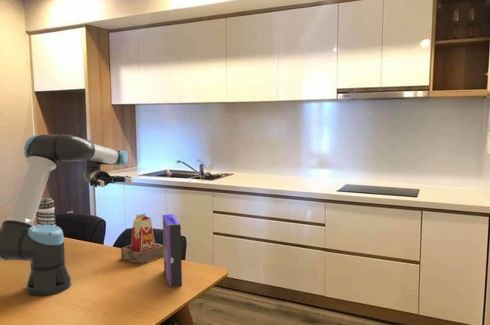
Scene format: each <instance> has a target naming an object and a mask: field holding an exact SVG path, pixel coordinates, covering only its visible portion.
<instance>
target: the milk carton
mask: <svg viewBox="0 0 490 325" xmlns="http://www.w3.org/2000/svg"><path fill="white" fill-rule="evenodd" d="M135 215H136V217H135V218H134V220H133V222H132V230H131V243H130V245H131V250H133V251H137V252H141V253H142V252H145V251H148V250H151V249H153V248H156V245H155V243H156V242H155V237H154V236H155V235H154V229H153V225H152V218H151V217H148V216H147V214H146V212H145V213H141V214H135Z"/></svg>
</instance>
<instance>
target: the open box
mask: <svg viewBox="0 0 490 325" xmlns="http://www.w3.org/2000/svg"><path fill="white" fill-rule="evenodd" d="M155 245H156V248H153V249H151V250H148V251H145V252H142V253H141V252H137V251H133V250H131V244H129V245H126V246H123V247H121V248H120V254H121V255H120V257H121V260H124V259H125V261H127V260H129V261H128V262H131V261H132V262H131V263H134V262H137V263H136V264H138V263H140V264H139V265H141V264H142V265H144V264H143V263H145V262H147V263H149V262H148V261H150V260H152V259H155V258H157V257H160V258H162V257H163V258H164V246H163V244H160V243H156V242H155ZM155 260H156V259H155ZM150 262H151V261H150ZM145 264H146V263H145Z"/></svg>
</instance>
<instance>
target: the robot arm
mask: <svg viewBox="0 0 490 325" xmlns="http://www.w3.org/2000/svg"><path fill="white" fill-rule="evenodd" d="M23 151H24V152H23V154H24V157H25V158H26V163H27V164H28V166H27V169H26V172H25V174H24V177H23V179H22V183H21V185H20V188H19V191H18V193H17V195H16V198H15V202H14V204H13V207H12V209H11V212H10V215H9V217H8V218H6V219H5V220H3V221H2V223H1V226H0V260H4V261H25V262H26V261H27V262H28V261H29V262H30V273H29V276H28V278H27V283H26V293H27V294H29V295H31V296H38V297H39V296H40V297H41V296H50V295H54V294H58V293H61V292H63V291H66V290H67V289H68V288H70V287H71V285H72V278H71V275H70V273H69V271H68V268H67V266H66V261H65V260H66V258H65V255H66V254H65V236H64V232H63V229H62V227H59V226H58V225H48V224H44V225H37V224H36V225H35V224H34V221H35V220H36V217H37V216H36V213H37V210H38V207H39V204H40V201H41V198H43V194H44V192H45V189H46V186H47V183H48V180H49V177H50V174H51V172H52V171H53V170H55V169H56V168H57V166H58V163H61V162H64V163H67V162H80V161H81V162H85V170H84V172H83V179H84V180H85V181H86V182H87V183H89V186H90V187H92V186H94V188H97V187H100V188H105V187H106V186H108V185H109V184H115V183H125V184H128V185H132V184H133V178H132V176H129V175H126V176H123V175H122V176H121V175H110V174H109V172H106V171H103V170H102V166H125V165H126V164H128V161H129V154H128V152H127V151H126V150H118V149H117V150H116V149H113V148H108V147H106V146H105V147H104V146H102V145H100V144H99V145H98V144H96V143H95V144H94V143H93V141H92V140H89V139H85V138H83V137H80V136H76V135H72V134H46V133H41V134H34V135H32V136H30V137H28V139H27V140H26V142H25V143H24V147H23Z"/></svg>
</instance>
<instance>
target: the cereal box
mask: <svg viewBox="0 0 490 325" xmlns="http://www.w3.org/2000/svg"><path fill="white" fill-rule="evenodd" d="M181 234H182V231H181V223H180V221H179V220H178V219H177V217H176V215H175V214H171V213H169V214H162V238H163V239H162V242H163V243H162V245H163V246H164V256H163V271H165V272H164V274H166V275H165V278H166V277H167V278H166V280H167V284H169V285H168V287H169V288H173V286H175V287H182V286H183V276H182V275H183V272H182V269H183V268H182V265H183V264H182V235H181Z"/></svg>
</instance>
